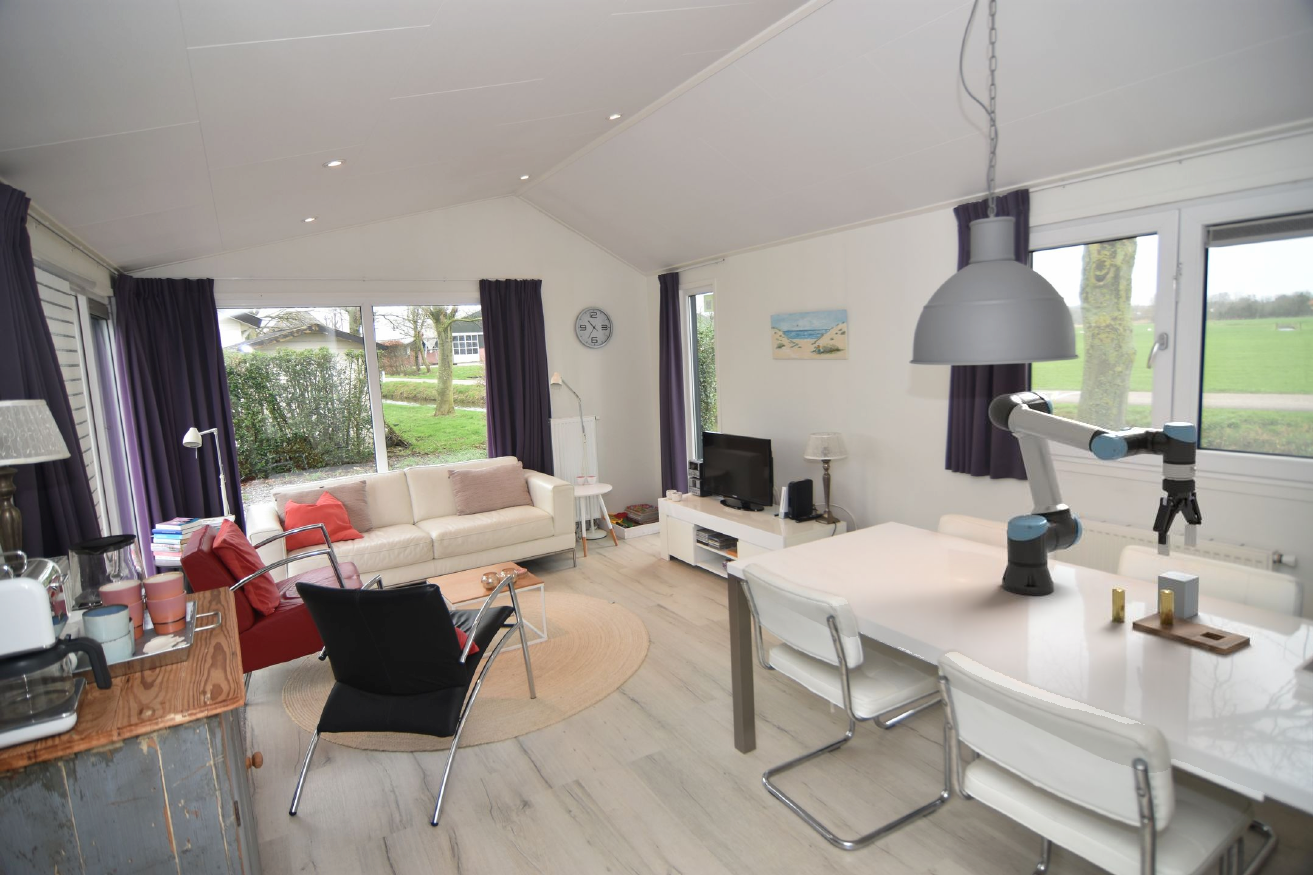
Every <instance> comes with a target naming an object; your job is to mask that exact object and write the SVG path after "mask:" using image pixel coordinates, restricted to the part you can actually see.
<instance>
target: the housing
mask: <svg viewBox="0 0 1313 875" xmlns="http://www.w3.org/2000/svg"><path fill="white" fill-rule="evenodd" d="M1199 580H1200V577H1199V576H1198V575H1197V576H1196V575H1192V574H1189V573H1188V574H1187V573H1183V572H1180V571H1175V570H1169V571H1167V572H1164V573H1161V574H1158V575H1157V613H1160V591H1161V590H1170V591H1173V592H1174V617H1176V618H1180V619H1183V620H1186V619H1189V618H1191V617H1194V616H1197V615H1199V589H1200V588H1199V586H1200V585H1199V584H1200V583H1199Z"/></svg>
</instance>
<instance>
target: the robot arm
mask: <svg viewBox="0 0 1313 875" xmlns="http://www.w3.org/2000/svg"><path fill="white" fill-rule="evenodd" d="M1053 412H1054V407H1053V403H1052V402H1051V400H1050V399H1049V397H1048V396H1047V395H1045V394H1044V393H1041V392H1039V391H1030V390H1027V391H1021V392H1014V393H1005V394H1001V395H999V396H997V397H996V398H994V399H993V400H992V401H991V403H990V405H989V408H988V417H989V420H990V421H991V423H992V424H993V425H994V426H995V427H997V428H999V429H1001V430H1004V431H1008V432H1011V434H1012V436H1014V437H1016V439H1017V440H1018V443H1019V447H1020V452H1021V455H1022V456H1021V457H1022V460H1023V464H1024V468H1025V472H1026V478H1027V481H1028V485H1029V491H1030V494H1031V498H1032V502H1033V509H1032V510H1031V511H1030V514H1025V515H1023V514H1022V515H1017V516H1014V517H1012V518H1011V519H1009V521H1008V523H1007V527H1006V528H1007V529H1006V536H1007V537H1006V538H1007V539H1006V540H1007V541H1006V542H1007V546H1006V548H1007V549H1006V550H1007V564H1006V567H1005V570H1004V572H1003V576H1002V578H1001V587H1002V588H1003V589H1004V590H1005V591H1007V592H1011V593H1014V594H1018V595H1025V596H1044V595H1049V594H1051V593H1053V592H1054V590H1055V583H1054V581H1053V578H1052V575H1051V573H1050V570H1049V567H1048V560H1049V559H1048V555H1049V554H1048V553H1053V552H1057V551H1060V550H1067V549H1069V548H1071V547H1073V546H1075V545H1077V543H1078V542H1079V541H1080V540H1081V539H1082V538H1081V537H1082V536H1083V526H1082V523H1081V521H1080V519H1079V518H1078V517H1076V515H1075V514H1074V513H1071V508H1070V507H1069V506H1068V505H1067V504H1065V503H1064V502H1063V498H1062V493H1061V491H1060V490H1061V489H1060V485H1059V482H1058V478H1057V473H1056V468H1055V464H1054V461H1053V457H1052V453H1051V448H1050V444H1049V441H1052V442H1056V443H1059V444H1063V445H1066V446H1069V447H1073V448H1074V449H1075V448H1076V449H1079V450H1083V451H1086V452H1089V453H1092V454H1093V455H1094V456H1095V457H1096V458H1097V459H1099V460H1100V461H1101V460H1102V461H1116V460H1119V459H1124V458H1129V457H1134V456H1138V455H1154V456H1162V473H1161V475H1162V476H1163V478H1162V483H1161V485H1162V486H1161V488H1162V489H1161V490H1162V491H1163V492H1166V493H1167V496H1165V497H1163V496H1161V497H1160V498H1159V506H1158V508H1157V513H1156V516H1155V520H1154V523H1153V526H1152V531H1153V532H1156V533H1157V555H1160V556H1164V557H1170V554H1171V552H1170V551H1171V549H1170V548H1171V532H1170V533H1169V531H1170V529H1171V526H1172V524H1173V522H1174V521H1175V517H1176V515H1178V514H1179V513H1180V512H1181V514H1182V515H1183V518H1184V519H1185V522H1186V523H1184V541H1183V543H1184V546H1186V547H1190V548H1197V535H1198V534H1197V532H1198V531H1197V530H1198V526H1201V525H1202V520H1203V517H1202V514H1201V509H1200V507H1199V504H1198V498H1197V492H1196V479H1195V477H1196V471H1197V470H1198V468H1197V467H1196V466H1197V464H1196V463H1197V462H1196V461H1197V460H1196V456H1197V441H1198V438H1197V427H1196V425H1195V424H1193V423H1189V422H1168V423H1165V424H1164V425H1163V427H1162V429H1160V428H1158V429H1156V428H1144V427H1135V426H1134V427H1127V426H1126V427H1123V428H1121V430H1120V431H1112V430H1109V429H1105V428H1101V427H1098V426H1095V425H1091V424H1087V423H1084V422H1079V421H1076V420H1072V419H1068V418H1064V417H1061V416H1057V415H1053Z"/></svg>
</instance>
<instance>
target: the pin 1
mask: <svg viewBox="0 0 1313 875" xmlns="http://www.w3.org/2000/svg"><path fill="white" fill-rule="evenodd" d="M1111 594H1112V596H1111V598H1112V599H1111V611H1112V612H1111V618H1112V622H1116V623H1125V621H1126V616H1125V615H1126V611H1125V610H1126V609H1125V608H1126V606H1125V605H1126V604H1125V603H1126V590H1125V589H1123V588H1118V587H1117V588H1116V587H1114V588H1112V592H1111Z"/></svg>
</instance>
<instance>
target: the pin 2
mask: <svg viewBox="0 0 1313 875" xmlns="http://www.w3.org/2000/svg"><path fill="white" fill-rule="evenodd" d="M1159 613H1160V623H1161V624H1164V625H1173V619H1174V592H1173V591H1170V590H1161V591H1160V612H1159Z"/></svg>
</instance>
